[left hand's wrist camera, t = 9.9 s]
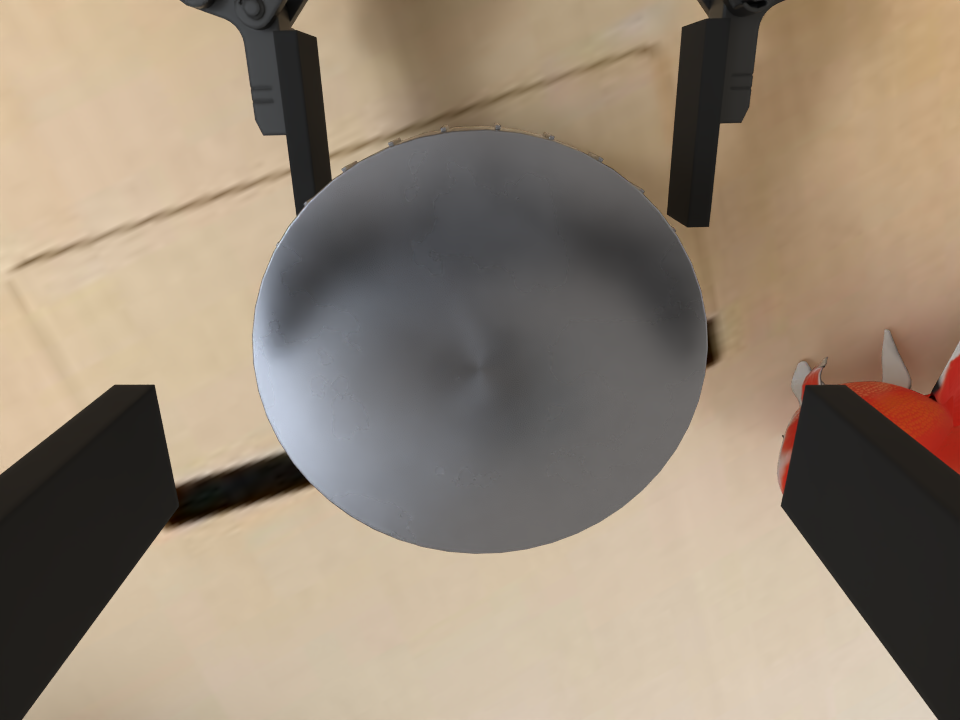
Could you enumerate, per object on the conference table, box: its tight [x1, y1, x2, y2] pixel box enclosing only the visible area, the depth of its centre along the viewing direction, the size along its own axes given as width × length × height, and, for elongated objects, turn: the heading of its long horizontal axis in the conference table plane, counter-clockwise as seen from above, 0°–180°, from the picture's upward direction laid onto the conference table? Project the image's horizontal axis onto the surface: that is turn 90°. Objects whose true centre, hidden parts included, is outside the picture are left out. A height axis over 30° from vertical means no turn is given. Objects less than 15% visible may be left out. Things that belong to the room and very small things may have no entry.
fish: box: [777, 329, 960, 494], centre depth 29 cm, size 11×16×10 cm
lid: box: [252, 123, 708, 554], centre depth 17 cm, size 12×12×2 cm
